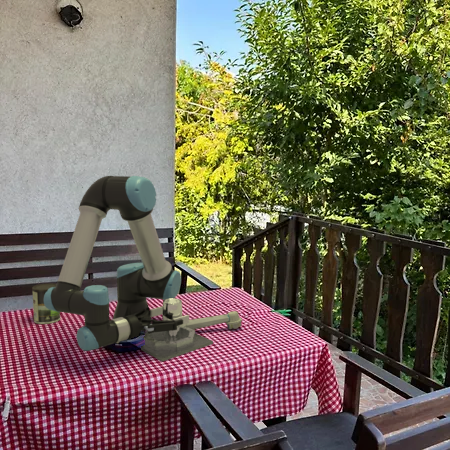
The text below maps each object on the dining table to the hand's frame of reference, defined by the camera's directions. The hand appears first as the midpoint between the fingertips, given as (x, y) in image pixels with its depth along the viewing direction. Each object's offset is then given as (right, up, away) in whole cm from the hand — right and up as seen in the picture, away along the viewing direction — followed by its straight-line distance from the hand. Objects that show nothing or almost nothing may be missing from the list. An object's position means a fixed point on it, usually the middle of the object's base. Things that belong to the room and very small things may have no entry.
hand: (176, 313), depth 164 cm
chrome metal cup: (-1, -10, -3) cm, 10 cm away
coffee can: (-55, -7, +22) cm, 60 cm away
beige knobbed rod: (+12, -8, +11) cm, 18 cm away
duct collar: (-3, -10, -1) cm, 11 cm away
